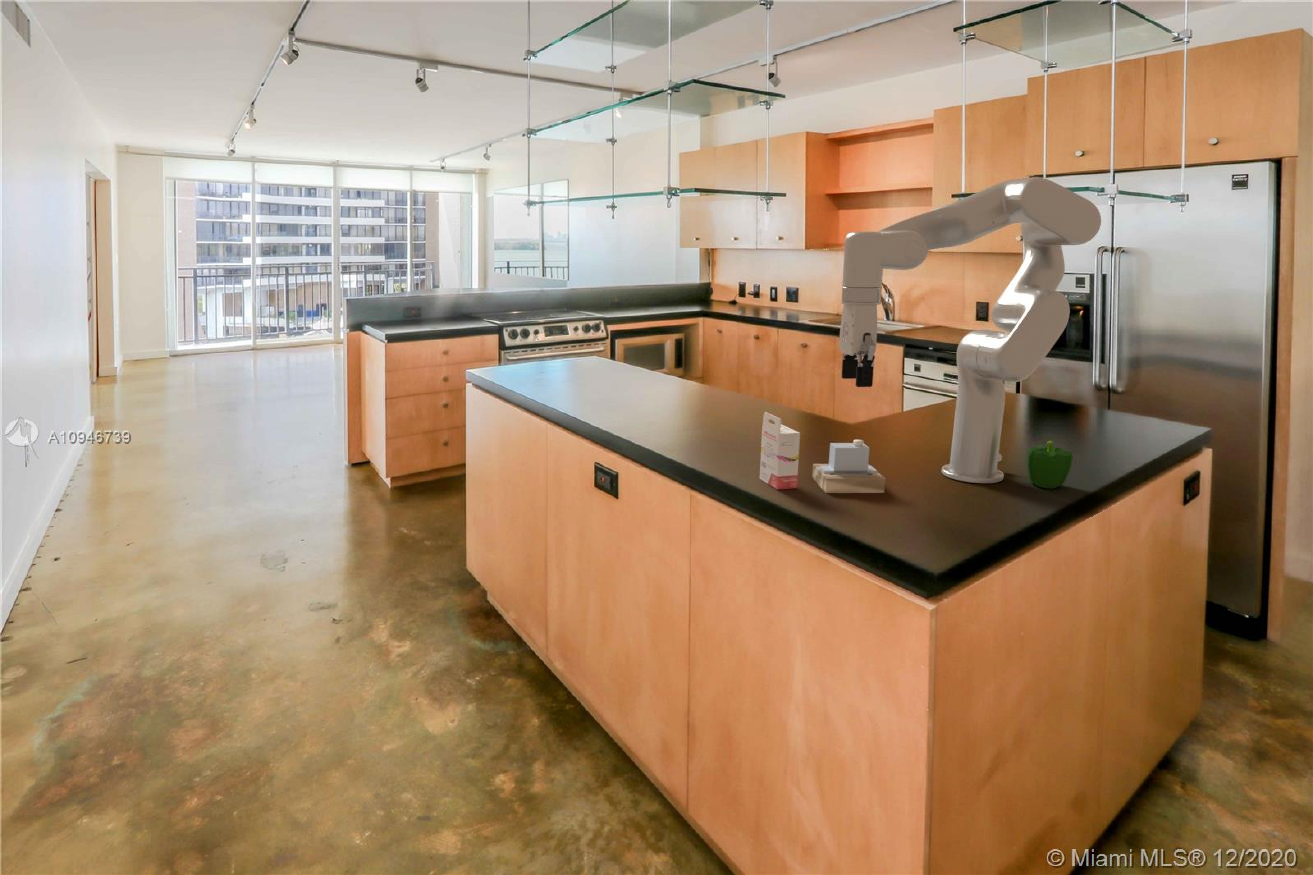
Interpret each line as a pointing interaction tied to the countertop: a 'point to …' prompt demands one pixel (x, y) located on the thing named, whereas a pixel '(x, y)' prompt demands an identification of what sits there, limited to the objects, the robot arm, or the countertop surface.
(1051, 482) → the bell pepper
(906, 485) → the countertop surface
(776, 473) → the ink cartridge box
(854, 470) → the servo
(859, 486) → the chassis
